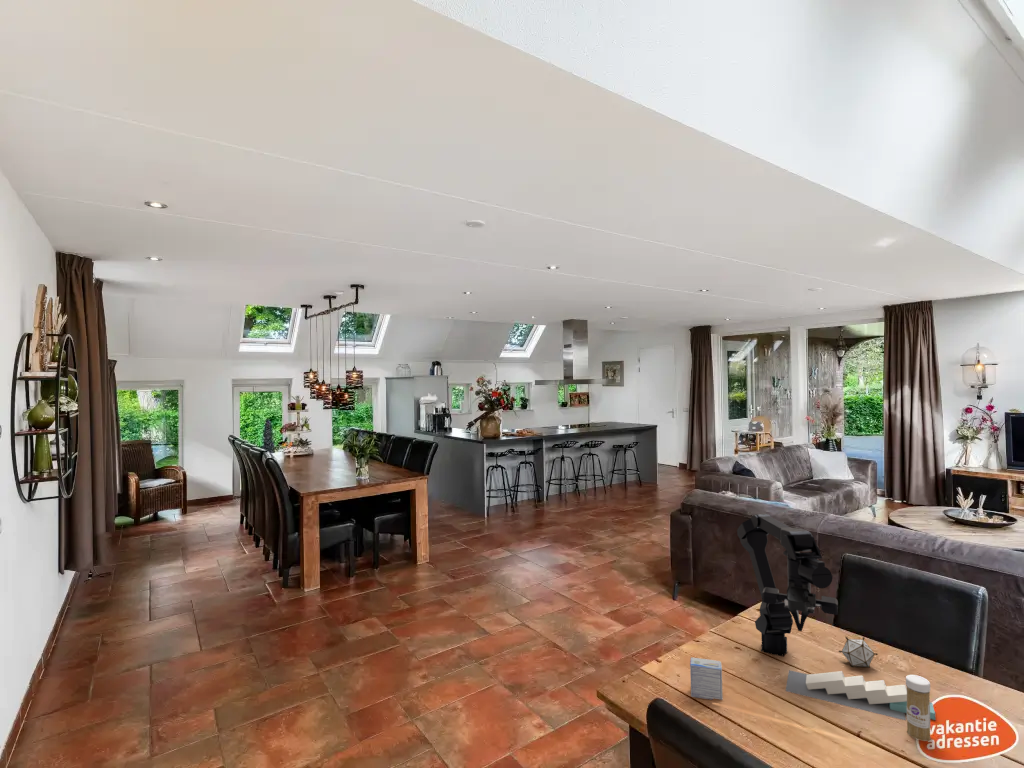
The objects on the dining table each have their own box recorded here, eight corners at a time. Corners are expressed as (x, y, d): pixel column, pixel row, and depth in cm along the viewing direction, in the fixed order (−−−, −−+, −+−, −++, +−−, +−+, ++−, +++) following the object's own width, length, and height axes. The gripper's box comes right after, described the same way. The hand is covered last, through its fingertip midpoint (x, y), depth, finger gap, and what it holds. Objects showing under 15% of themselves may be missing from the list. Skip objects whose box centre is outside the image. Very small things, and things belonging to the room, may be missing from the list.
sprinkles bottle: (905, 738, 125) (904, 679, 125) (907, 728, 129) (906, 671, 129) (931, 746, 122) (929, 686, 122) (932, 736, 126) (930, 678, 126)
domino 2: (825, 688, 142) (863, 684, 138) (825, 679, 147) (862, 675, 142) (828, 694, 142) (866, 691, 138) (828, 685, 146) (865, 681, 142)
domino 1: (805, 683, 145) (842, 679, 140) (806, 674, 149) (842, 671, 145) (808, 689, 144) (845, 686, 140) (809, 680, 149) (844, 677, 144)
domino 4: (866, 697, 138) (907, 694, 133) (865, 688, 142) (905, 684, 138) (869, 704, 137) (910, 701, 133) (868, 694, 142) (907, 691, 137)
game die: (859, 676, 158) (872, 644, 161) (875, 680, 150) (888, 647, 153) (829, 657, 161) (842, 626, 163) (842, 661, 153) (856, 628, 155)
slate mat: (785, 693, 144) (785, 690, 144) (788, 672, 154) (788, 670, 154) (906, 722, 131) (905, 720, 131) (900, 697, 141) (900, 695, 141)
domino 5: (889, 702, 135) (935, 713, 131) (888, 692, 140) (932, 702, 135) (889, 709, 135) (935, 720, 131) (888, 699, 140) (932, 709, 135)
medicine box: (722, 693, 145) (721, 660, 145) (722, 702, 140) (722, 669, 141) (691, 688, 147) (690, 656, 147) (690, 697, 143) (690, 664, 143)
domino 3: (845, 692, 140) (885, 689, 136) (845, 683, 144) (883, 679, 140) (848, 699, 140) (887, 696, 135) (848, 689, 144) (886, 686, 140)
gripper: (759, 578, 151) (760, 634, 151) (837, 590, 141) (838, 650, 141) (763, 566, 160) (764, 619, 160) (837, 577, 151) (838, 633, 151)
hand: (799, 630), depth 153 cm, fingers closed
